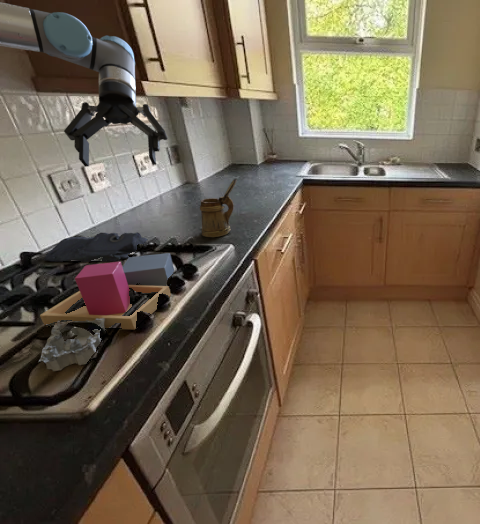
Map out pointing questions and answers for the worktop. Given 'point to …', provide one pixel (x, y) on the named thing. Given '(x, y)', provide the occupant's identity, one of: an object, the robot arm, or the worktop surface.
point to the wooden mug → (217, 214)
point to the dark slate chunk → (96, 247)
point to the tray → (83, 315)
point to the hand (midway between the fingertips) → (119, 162)
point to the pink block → (104, 288)
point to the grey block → (148, 269)
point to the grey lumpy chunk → (70, 346)
